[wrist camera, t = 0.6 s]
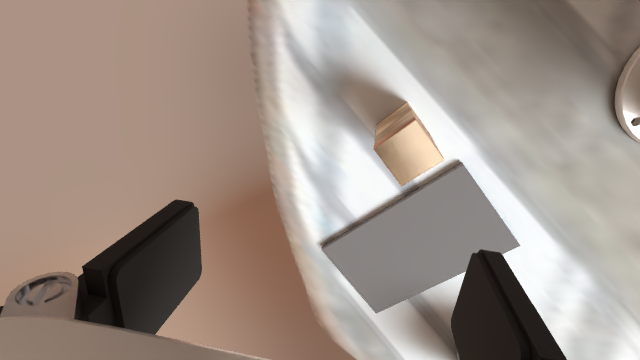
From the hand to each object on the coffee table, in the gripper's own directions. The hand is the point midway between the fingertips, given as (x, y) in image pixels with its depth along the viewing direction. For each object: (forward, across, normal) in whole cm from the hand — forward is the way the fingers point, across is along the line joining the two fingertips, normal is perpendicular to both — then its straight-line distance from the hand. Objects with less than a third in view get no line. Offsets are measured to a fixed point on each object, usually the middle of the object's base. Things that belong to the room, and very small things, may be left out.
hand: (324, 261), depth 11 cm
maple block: (+27, -4, +1) cm, 28 cm away
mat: (+27, -9, +15) cm, 32 cm away
